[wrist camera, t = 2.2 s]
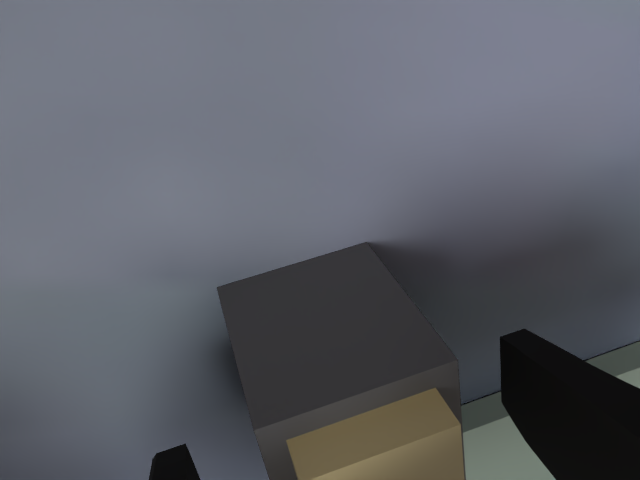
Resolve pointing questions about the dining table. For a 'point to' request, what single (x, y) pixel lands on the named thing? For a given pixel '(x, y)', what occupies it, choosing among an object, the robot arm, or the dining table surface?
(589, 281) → the dining table surface
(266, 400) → the connector plug
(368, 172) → the dining table surface
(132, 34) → the dining table surface
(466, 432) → the end holder
